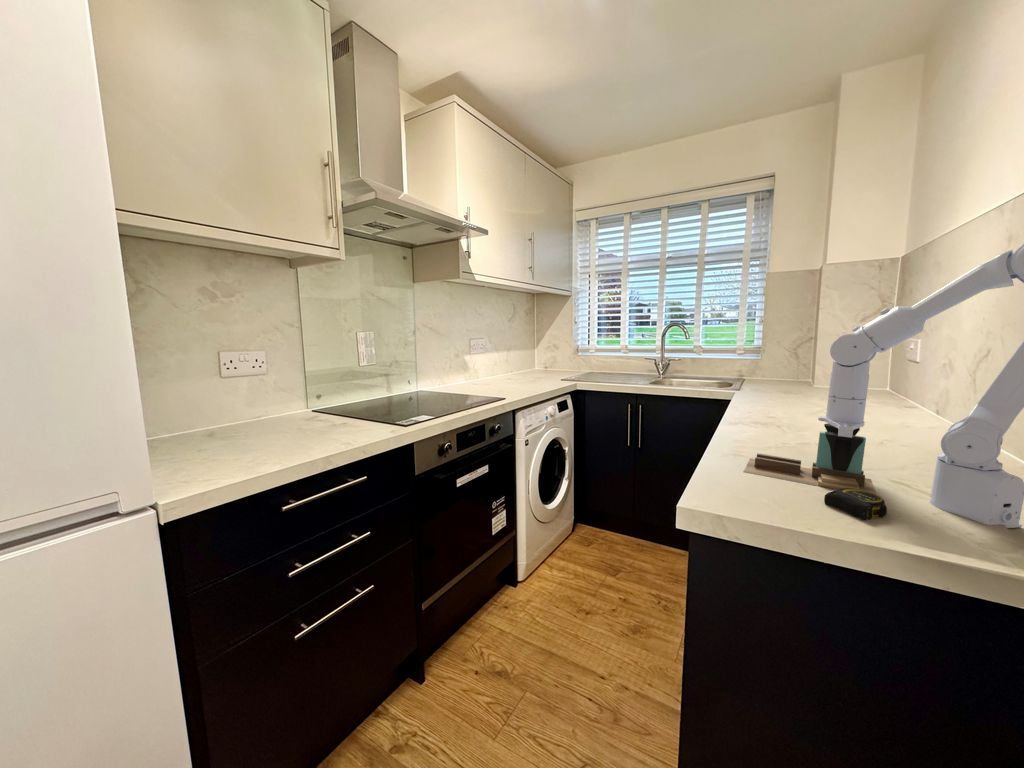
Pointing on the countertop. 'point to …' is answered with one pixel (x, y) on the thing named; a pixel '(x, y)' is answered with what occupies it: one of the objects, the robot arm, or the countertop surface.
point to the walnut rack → (800, 471)
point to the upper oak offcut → (839, 480)
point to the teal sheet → (825, 455)
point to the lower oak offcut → (834, 485)
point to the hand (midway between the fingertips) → (838, 464)
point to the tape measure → (857, 503)
